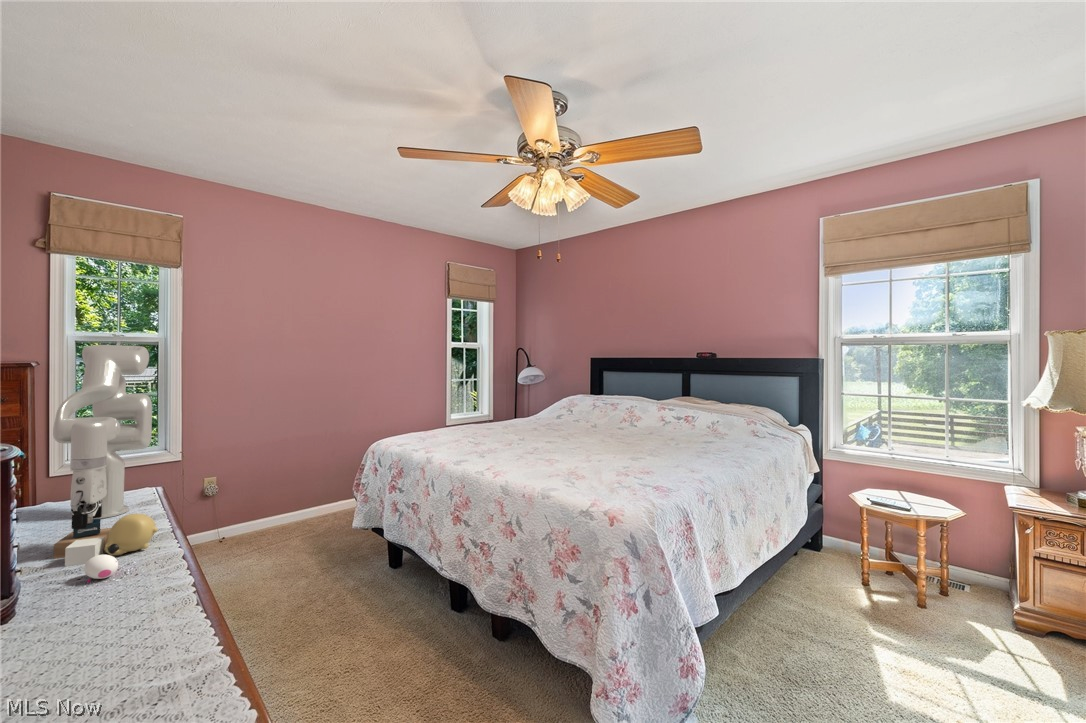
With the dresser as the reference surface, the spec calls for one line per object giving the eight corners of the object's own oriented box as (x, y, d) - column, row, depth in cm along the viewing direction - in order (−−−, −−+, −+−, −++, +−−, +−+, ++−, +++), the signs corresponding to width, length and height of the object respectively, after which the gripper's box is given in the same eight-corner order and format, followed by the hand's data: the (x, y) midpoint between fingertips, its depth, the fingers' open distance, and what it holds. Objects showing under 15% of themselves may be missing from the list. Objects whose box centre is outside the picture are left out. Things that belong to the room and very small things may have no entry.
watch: (72, 540, 129) (73, 501, 128) (74, 531, 134) (74, 494, 134) (100, 535, 132) (101, 497, 132) (100, 527, 138) (101, 491, 138)
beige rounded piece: (128, 558, 136) (91, 540, 131) (163, 521, 142) (130, 503, 137) (130, 568, 129) (92, 550, 124) (167, 529, 135) (132, 511, 130)
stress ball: (118, 589, 118) (136, 562, 121) (87, 583, 111) (108, 555, 115) (99, 583, 120) (117, 556, 123) (67, 577, 113) (88, 549, 117)
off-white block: (75, 558, 128) (75, 540, 128) (103, 554, 130) (104, 537, 130) (64, 566, 122) (65, 548, 122) (94, 563, 125) (95, 544, 125)
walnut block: (72, 545, 136) (72, 531, 136) (115, 540, 140) (116, 527, 140) (53, 558, 127) (53, 544, 127) (100, 553, 131) (101, 539, 131)
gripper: (91, 469, 127) (89, 531, 127) (118, 456, 143) (116, 512, 143) (55, 471, 124) (53, 535, 124) (86, 457, 140) (84, 514, 140)
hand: (87, 522), depth 133 cm, fingers closed on watch, 8 cm apart
